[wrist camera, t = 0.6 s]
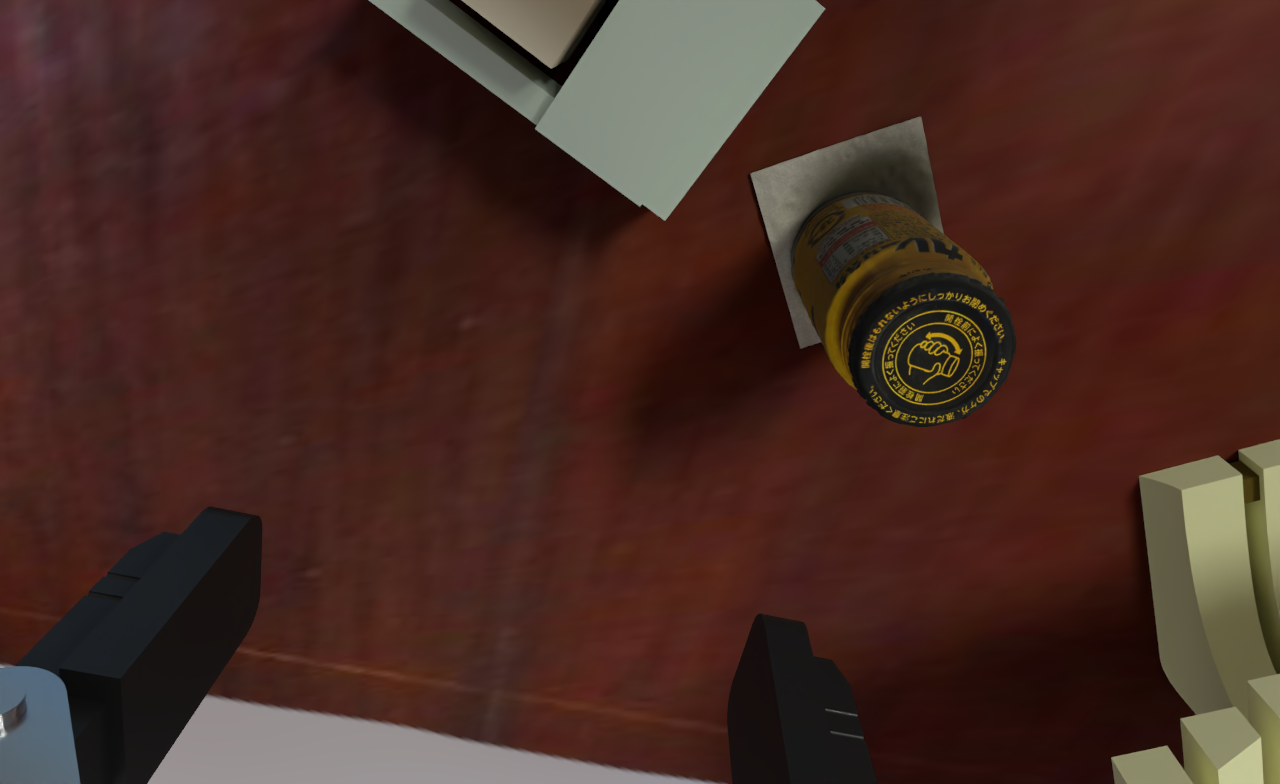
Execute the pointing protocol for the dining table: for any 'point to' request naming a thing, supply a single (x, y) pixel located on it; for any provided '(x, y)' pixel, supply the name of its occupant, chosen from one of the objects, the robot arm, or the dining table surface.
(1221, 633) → the slatted curved stool
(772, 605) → the dining table surface
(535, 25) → the tethered block
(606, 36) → the u-shaped sage bracket
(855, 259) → the condiment
